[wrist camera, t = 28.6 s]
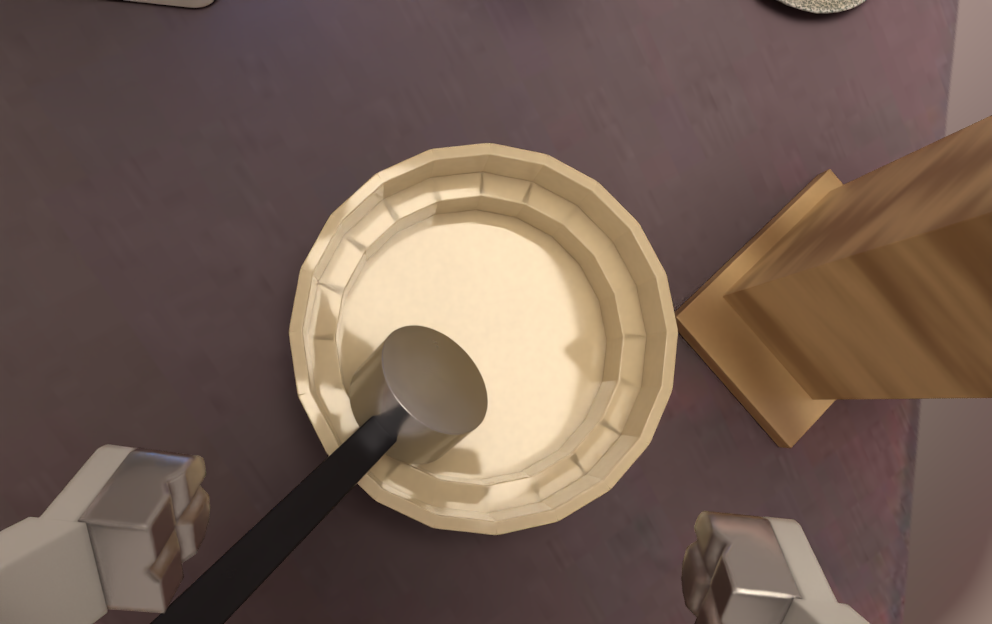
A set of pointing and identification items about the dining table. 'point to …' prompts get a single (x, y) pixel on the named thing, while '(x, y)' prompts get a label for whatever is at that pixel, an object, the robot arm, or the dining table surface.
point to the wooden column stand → (859, 291)
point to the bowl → (494, 329)
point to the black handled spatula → (352, 459)
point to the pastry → (822, 5)
